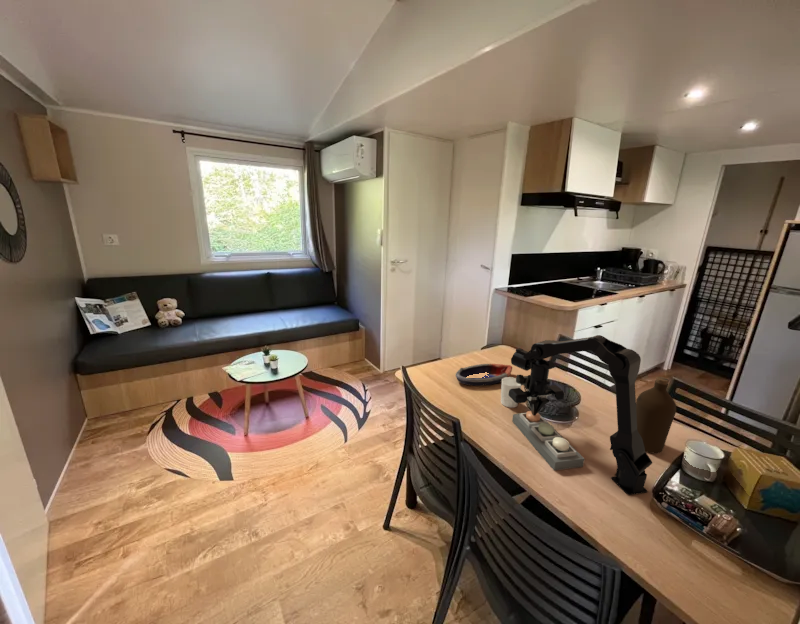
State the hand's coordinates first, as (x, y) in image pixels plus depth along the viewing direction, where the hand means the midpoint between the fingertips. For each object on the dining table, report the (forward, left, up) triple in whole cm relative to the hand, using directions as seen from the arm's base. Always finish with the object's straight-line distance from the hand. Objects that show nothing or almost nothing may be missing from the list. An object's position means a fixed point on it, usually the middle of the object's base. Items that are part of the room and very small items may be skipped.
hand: (533, 414), depth 123 cm
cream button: (-16, 0, -1) cm, 16 cm away
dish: (+39, +1, -6) cm, 40 cm away
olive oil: (-15, -34, -6) cm, 38 cm away
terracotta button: (0, 0, -2) cm, 2 cm away
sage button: (-8, 0, -1) cm, 8 cm away
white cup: (+17, 0, -6) cm, 18 cm away
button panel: (-8, 0, -6) cm, 10 cm away
